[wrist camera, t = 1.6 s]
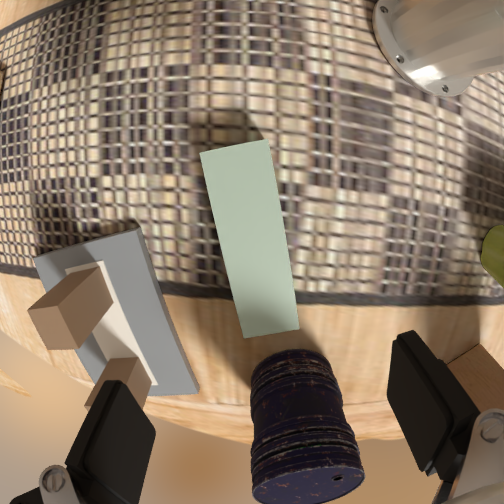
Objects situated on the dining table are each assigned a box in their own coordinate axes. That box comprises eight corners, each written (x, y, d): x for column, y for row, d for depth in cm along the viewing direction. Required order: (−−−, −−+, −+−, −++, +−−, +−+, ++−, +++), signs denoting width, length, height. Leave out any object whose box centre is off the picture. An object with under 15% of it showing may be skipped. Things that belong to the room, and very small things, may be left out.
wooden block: (427, 374, 33) (489, 481, 14) (480, 341, 32) (552, 428, 13) (427, 409, 36) (473, 500, 17) (474, 380, 35) (528, 460, 16)
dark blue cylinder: (286, 415, 34) (298, 512, 20) (232, 380, 32) (225, 493, 18) (348, 375, 32) (385, 476, 18) (298, 332, 30) (326, 453, 16)
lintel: (207, 152, 24) (199, 152, 20) (265, 140, 24) (267, 138, 20) (244, 315, 29) (243, 338, 25) (293, 306, 29) (299, 328, 25)
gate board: (38, 255, 26) (-13, 289, 18) (140, 226, 26) (94, 263, 17) (105, 389, 33) (81, 438, 24) (199, 386, 32) (189, 447, 24)
